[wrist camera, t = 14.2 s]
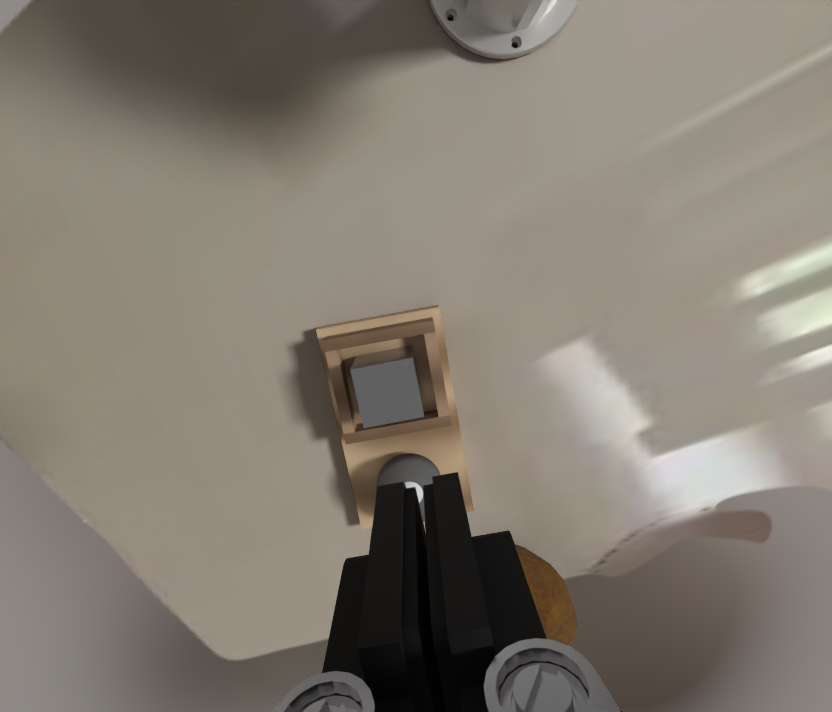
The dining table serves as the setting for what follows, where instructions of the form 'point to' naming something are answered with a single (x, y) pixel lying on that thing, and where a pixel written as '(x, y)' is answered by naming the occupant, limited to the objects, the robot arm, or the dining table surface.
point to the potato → (549, 597)
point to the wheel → (409, 474)
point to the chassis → (419, 436)
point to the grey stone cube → (387, 386)
